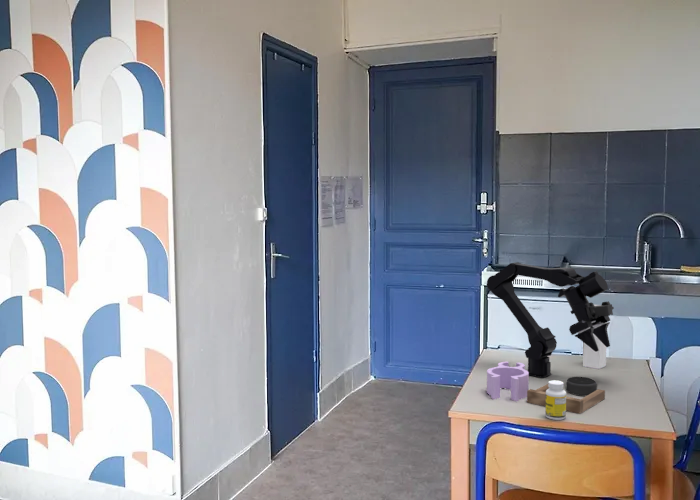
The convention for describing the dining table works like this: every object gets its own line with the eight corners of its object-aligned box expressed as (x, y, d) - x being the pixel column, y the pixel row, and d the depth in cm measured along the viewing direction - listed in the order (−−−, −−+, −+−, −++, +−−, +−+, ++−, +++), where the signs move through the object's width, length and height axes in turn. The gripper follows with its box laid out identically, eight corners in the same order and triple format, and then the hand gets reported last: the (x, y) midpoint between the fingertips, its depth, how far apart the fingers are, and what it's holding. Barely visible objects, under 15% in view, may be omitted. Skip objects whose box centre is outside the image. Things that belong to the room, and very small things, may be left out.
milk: (599, 369, 234) (600, 306, 232) (582, 366, 238) (583, 304, 236) (606, 365, 238) (607, 304, 236) (589, 363, 242) (590, 302, 240)
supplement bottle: (542, 414, 187) (542, 379, 186) (561, 413, 188) (561, 379, 187) (549, 420, 182) (550, 385, 181) (569, 420, 182) (569, 384, 181)
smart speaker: (597, 398, 202) (598, 385, 202) (566, 395, 204) (566, 382, 204) (595, 389, 211) (595, 377, 210) (565, 387, 213) (565, 375, 213)
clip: (493, 381, 221) (493, 360, 220) (532, 384, 217) (532, 363, 216) (483, 398, 202) (483, 376, 202) (525, 402, 198) (526, 379, 197)
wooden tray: (527, 402, 198) (527, 390, 198) (553, 388, 211) (554, 377, 211) (580, 413, 187) (580, 401, 187) (604, 398, 201) (605, 387, 200)
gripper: (589, 295, 204) (614, 343, 199) (612, 290, 218) (636, 334, 213) (558, 311, 211) (582, 357, 206) (583, 305, 224) (605, 348, 220)
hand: (602, 348), depth 211 cm, fingers open, 9 cm apart
